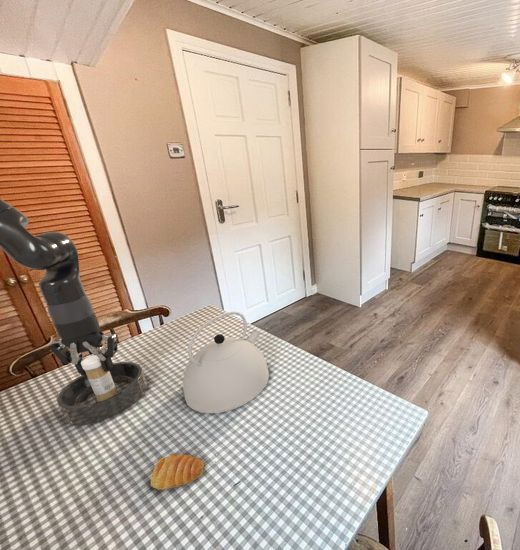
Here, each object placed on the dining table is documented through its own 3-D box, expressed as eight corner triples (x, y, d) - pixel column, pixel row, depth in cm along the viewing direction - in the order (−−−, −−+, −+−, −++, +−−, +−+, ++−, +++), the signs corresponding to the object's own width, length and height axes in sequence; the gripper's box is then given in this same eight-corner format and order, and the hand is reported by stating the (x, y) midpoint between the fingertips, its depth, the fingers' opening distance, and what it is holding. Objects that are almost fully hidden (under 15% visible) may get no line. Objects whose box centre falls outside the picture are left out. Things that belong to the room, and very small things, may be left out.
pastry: (210, 458, 67) (206, 446, 66) (197, 490, 61) (192, 477, 60) (166, 462, 67) (161, 450, 65) (148, 494, 60) (142, 481, 59)
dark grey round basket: (48, 433, 74) (38, 414, 71) (90, 383, 89) (83, 367, 87) (131, 418, 78) (124, 400, 75) (157, 373, 93) (151, 357, 91)
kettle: (240, 349, 105) (228, 290, 97) (290, 369, 95) (282, 305, 87) (167, 396, 85) (145, 327, 76) (222, 428, 75) (203, 353, 66)
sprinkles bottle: (114, 390, 86) (98, 351, 81) (122, 396, 84) (106, 356, 79) (94, 401, 83) (76, 360, 77) (102, 407, 80) (84, 366, 75)
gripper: (115, 304, 78) (134, 358, 85) (48, 311, 75) (73, 367, 82) (99, 318, 72) (121, 376, 78) (25, 327, 68) (55, 386, 75)
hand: (97, 371), depth 80 cm, fingers closed on sprinkles bottle, 4 cm apart
